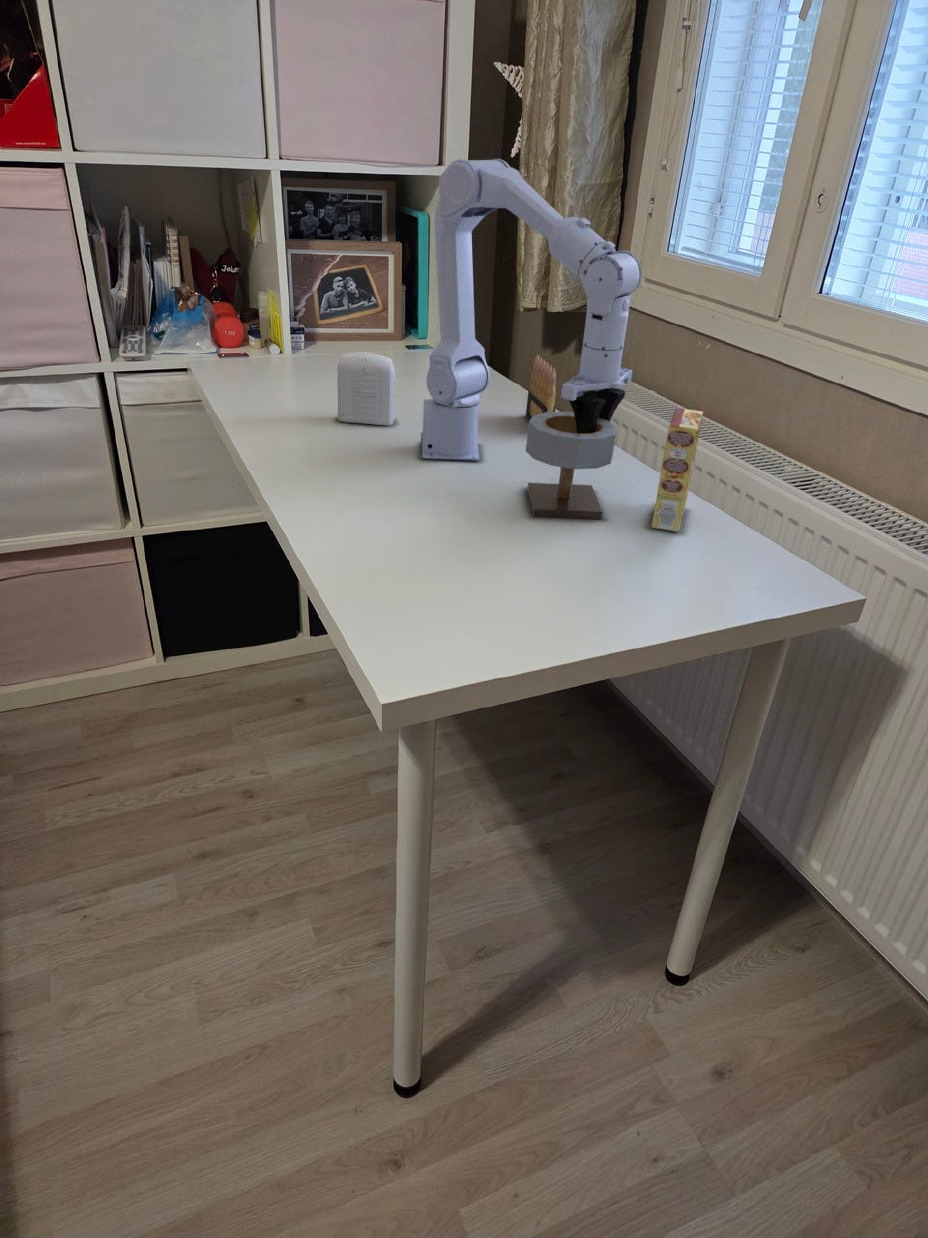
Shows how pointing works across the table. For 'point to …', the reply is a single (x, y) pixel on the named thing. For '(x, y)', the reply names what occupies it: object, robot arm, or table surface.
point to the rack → (564, 498)
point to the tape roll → (569, 441)
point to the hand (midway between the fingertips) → (590, 438)
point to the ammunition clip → (541, 389)
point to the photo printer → (366, 388)
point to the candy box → (677, 469)
